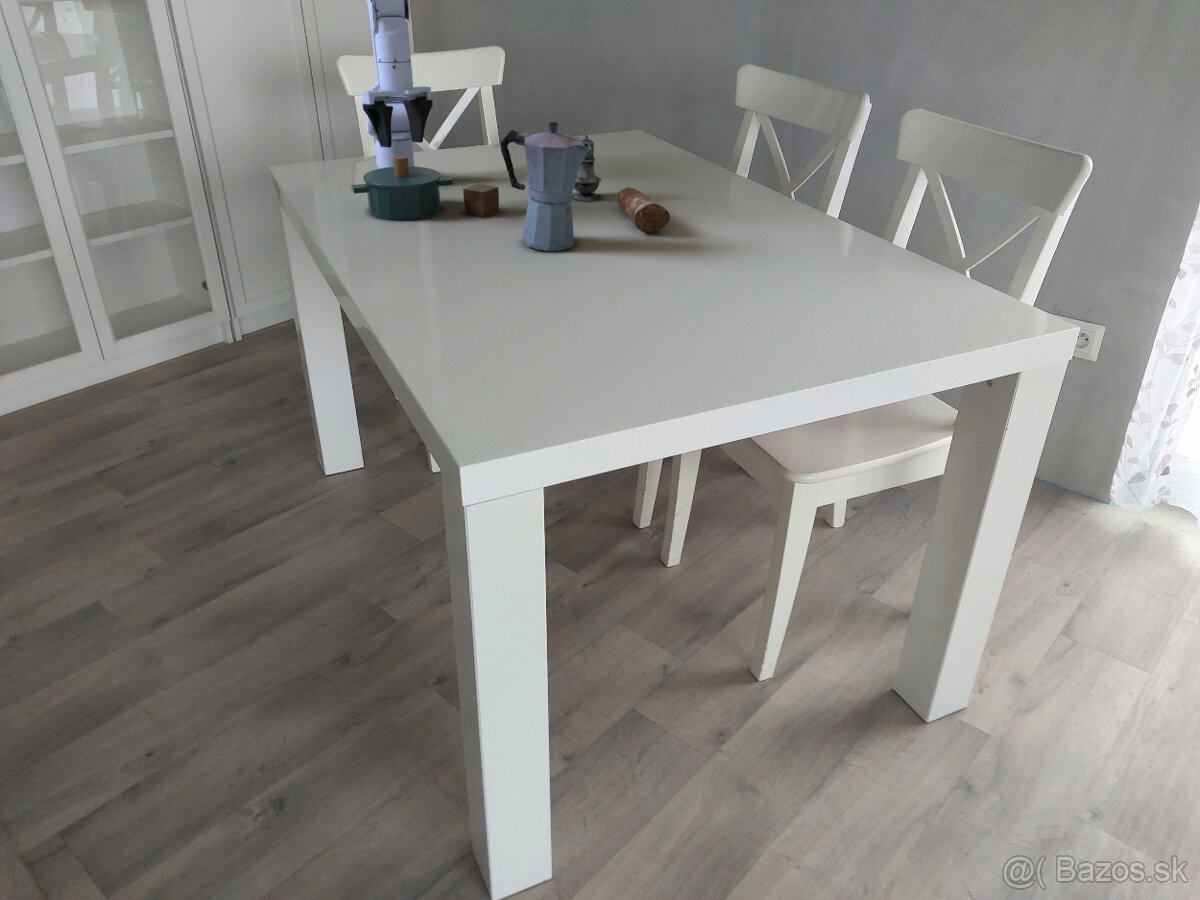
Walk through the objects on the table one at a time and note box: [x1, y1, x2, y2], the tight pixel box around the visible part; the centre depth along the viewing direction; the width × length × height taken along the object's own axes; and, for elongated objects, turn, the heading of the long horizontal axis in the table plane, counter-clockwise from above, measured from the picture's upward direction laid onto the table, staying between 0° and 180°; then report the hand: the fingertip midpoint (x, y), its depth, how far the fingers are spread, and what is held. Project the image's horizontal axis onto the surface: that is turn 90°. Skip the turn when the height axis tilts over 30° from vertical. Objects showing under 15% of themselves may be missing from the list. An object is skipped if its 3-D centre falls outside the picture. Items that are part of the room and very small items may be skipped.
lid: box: [362, 156, 442, 188], centre depth 170 cm, size 14×14×4 cm
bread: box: [616, 187, 671, 233], centre depth 170 cm, size 6×19×6 cm, turn 11°
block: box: [462, 182, 500, 218], centre depth 172 cm, size 5×5×5 cm
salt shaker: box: [571, 133, 602, 202], centre depth 180 cm, size 6×6×12 cm
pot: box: [351, 176, 454, 222], centre depth 172 cm, size 13×18×6 cm
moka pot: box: [500, 121, 592, 252], centre depth 153 cm, size 10×15×20 cm, turn 78°
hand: (402, 144), depth 166 cm, fingers open, 7 cm apart
